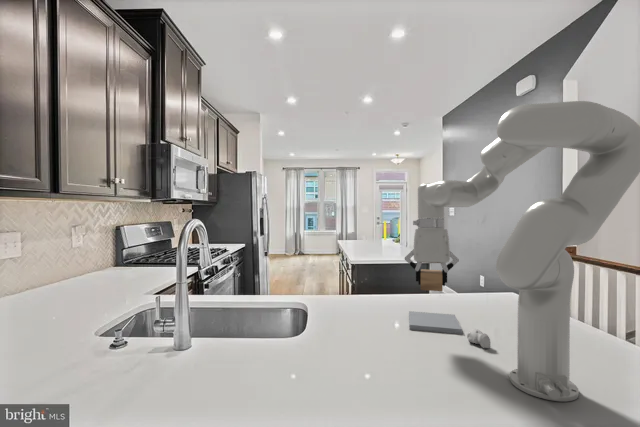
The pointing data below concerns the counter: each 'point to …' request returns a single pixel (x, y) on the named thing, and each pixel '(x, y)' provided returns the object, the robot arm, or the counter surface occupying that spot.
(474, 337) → the smooth white sculpture
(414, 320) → the base board
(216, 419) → the counter surface
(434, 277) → the walnut brick
